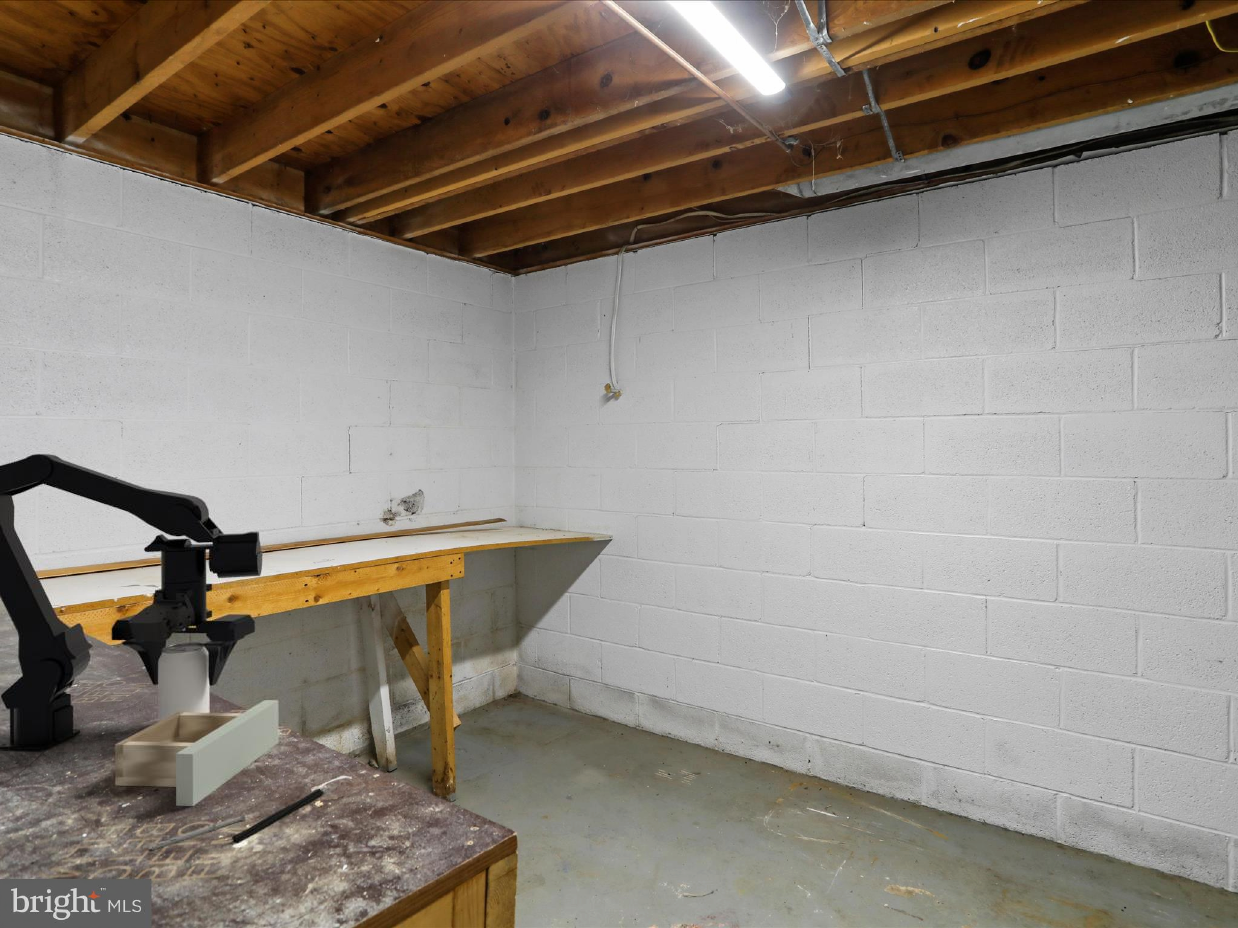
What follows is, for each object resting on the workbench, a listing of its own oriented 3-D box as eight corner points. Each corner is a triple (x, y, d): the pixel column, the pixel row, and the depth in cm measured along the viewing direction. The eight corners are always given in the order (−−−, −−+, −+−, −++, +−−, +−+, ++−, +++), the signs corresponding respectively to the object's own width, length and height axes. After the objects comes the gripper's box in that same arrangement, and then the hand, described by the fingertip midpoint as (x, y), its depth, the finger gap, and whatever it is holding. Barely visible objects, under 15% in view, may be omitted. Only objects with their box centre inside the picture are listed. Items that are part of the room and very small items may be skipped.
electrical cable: (322, 792, 84) (322, 784, 84) (329, 794, 83) (329, 786, 83) (231, 844, 73) (231, 834, 73) (238, 846, 72) (238, 836, 72)
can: (185, 737, 100) (184, 653, 100) (147, 733, 101) (146, 651, 101) (219, 720, 107) (219, 642, 106) (183, 717, 108) (183, 640, 108)
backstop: (176, 805, 80) (176, 753, 80) (264, 742, 98) (264, 699, 98) (193, 805, 80) (192, 753, 80) (278, 742, 98) (278, 700, 98)
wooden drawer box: (115, 785, 85) (115, 744, 85) (177, 748, 96) (177, 712, 96) (201, 787, 85) (201, 746, 85) (254, 749, 96) (254, 713, 96)
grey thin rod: (245, 823, 77) (245, 814, 77) (153, 854, 71) (153, 845, 71) (242, 820, 78) (242, 811, 78) (151, 850, 72) (151, 841, 72)
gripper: (79, 589, 96) (80, 702, 97) (209, 590, 95) (210, 704, 95) (139, 576, 108) (140, 677, 108) (256, 577, 107) (257, 678, 107)
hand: (184, 684), depth 104 cm, fingers open, 8 cm apart
